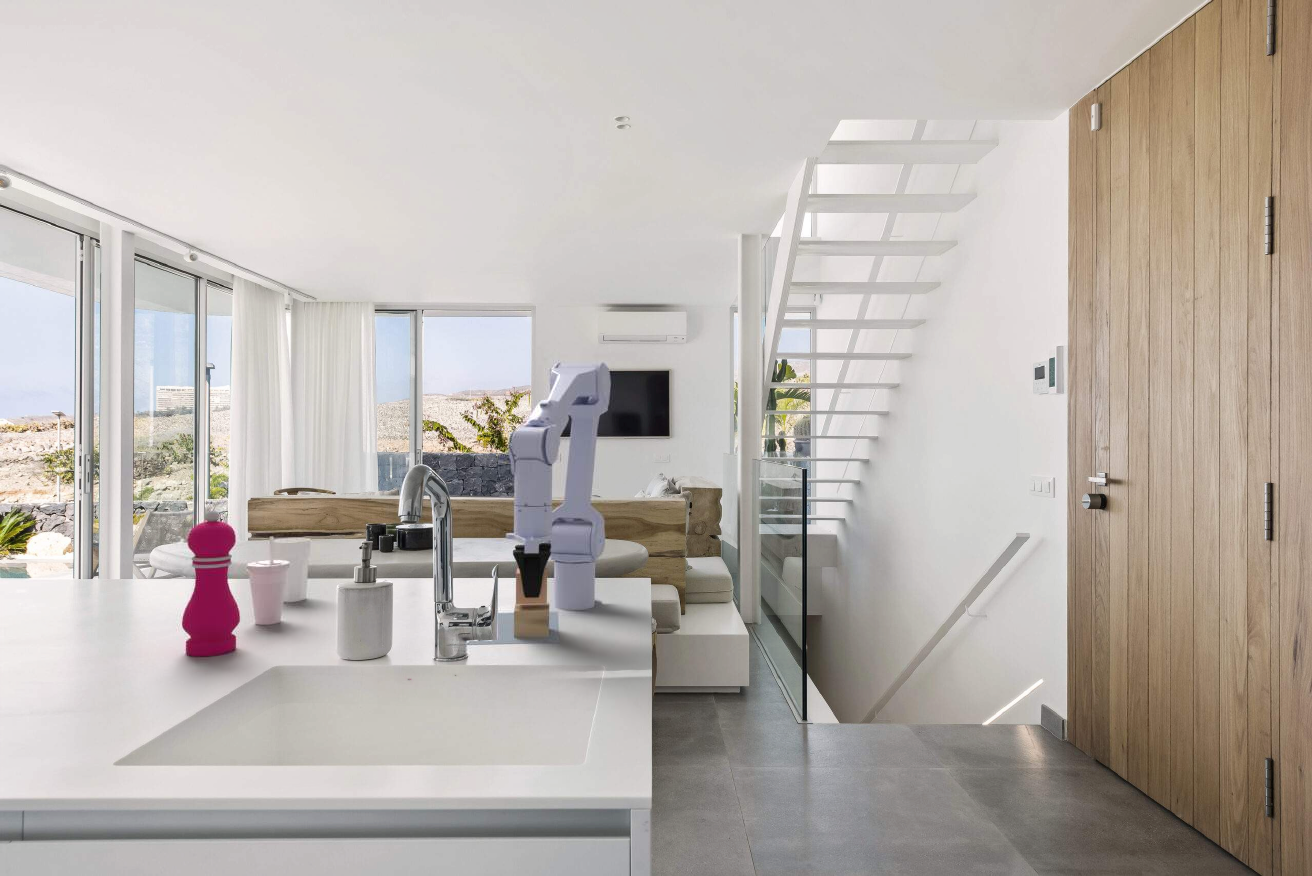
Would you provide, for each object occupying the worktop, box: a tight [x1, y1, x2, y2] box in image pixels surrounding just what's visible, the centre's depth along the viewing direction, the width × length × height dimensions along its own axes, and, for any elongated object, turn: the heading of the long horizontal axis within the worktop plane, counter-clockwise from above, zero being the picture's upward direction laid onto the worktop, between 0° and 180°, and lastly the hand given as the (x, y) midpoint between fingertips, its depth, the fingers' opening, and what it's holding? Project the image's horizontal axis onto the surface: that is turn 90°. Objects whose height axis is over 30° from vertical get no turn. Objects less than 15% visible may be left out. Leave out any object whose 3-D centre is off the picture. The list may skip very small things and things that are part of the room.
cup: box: [273, 537, 311, 603], centre depth 149 cm, size 7×7×11 cm
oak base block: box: [513, 602, 550, 638], centre depth 123 cm, size 5×5×4 cm
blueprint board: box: [466, 611, 560, 646], centre depth 126 cm, size 20×16×1 cm
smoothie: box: [246, 536, 290, 626], centre depth 131 cm, size 6×6×14 cm
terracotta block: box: [515, 567, 548, 604], centre depth 123 cm, size 5×5×5 cm
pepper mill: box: [181, 509, 241, 658], centre depth 114 cm, size 7×7×20 cm
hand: (532, 593), depth 123 cm, fingers closed on terracotta block, 4 cm apart
